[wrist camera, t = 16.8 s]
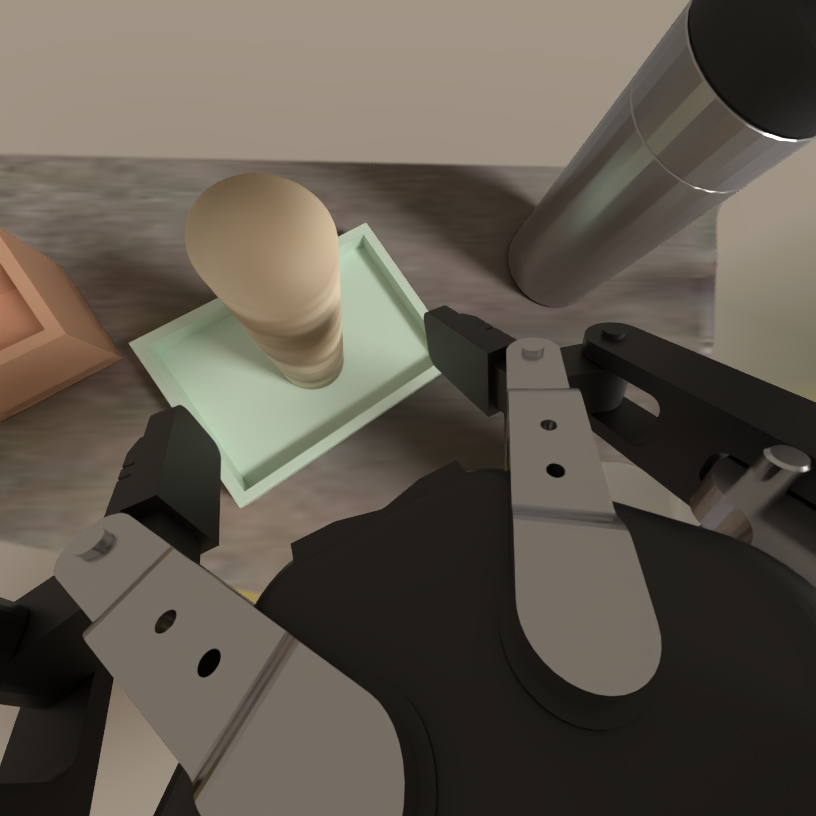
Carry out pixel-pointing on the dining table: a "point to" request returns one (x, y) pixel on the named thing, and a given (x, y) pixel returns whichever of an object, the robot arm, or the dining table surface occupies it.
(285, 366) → the birch pin
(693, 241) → the dining table surface
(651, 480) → the water bottle
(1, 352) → the terracotta holder
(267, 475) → the pale green tray
